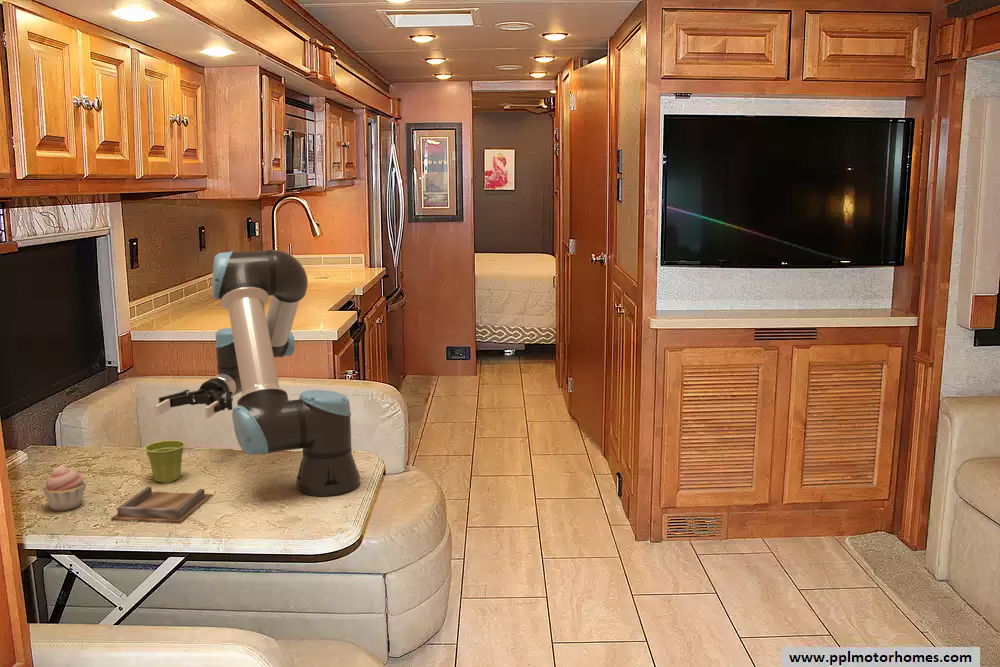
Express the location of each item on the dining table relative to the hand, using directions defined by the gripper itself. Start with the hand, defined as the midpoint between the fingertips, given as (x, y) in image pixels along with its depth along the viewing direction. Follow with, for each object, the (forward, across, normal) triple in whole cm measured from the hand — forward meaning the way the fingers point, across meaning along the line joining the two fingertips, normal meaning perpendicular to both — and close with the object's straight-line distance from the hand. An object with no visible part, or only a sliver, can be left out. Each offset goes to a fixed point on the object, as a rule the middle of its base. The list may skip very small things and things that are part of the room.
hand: (181, 412), depth 221 cm
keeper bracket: (+28, -9, -14) cm, 33 cm away
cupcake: (+29, +14, -14) cm, 36 cm away
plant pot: (+10, 0, -14) cm, 18 cm away
